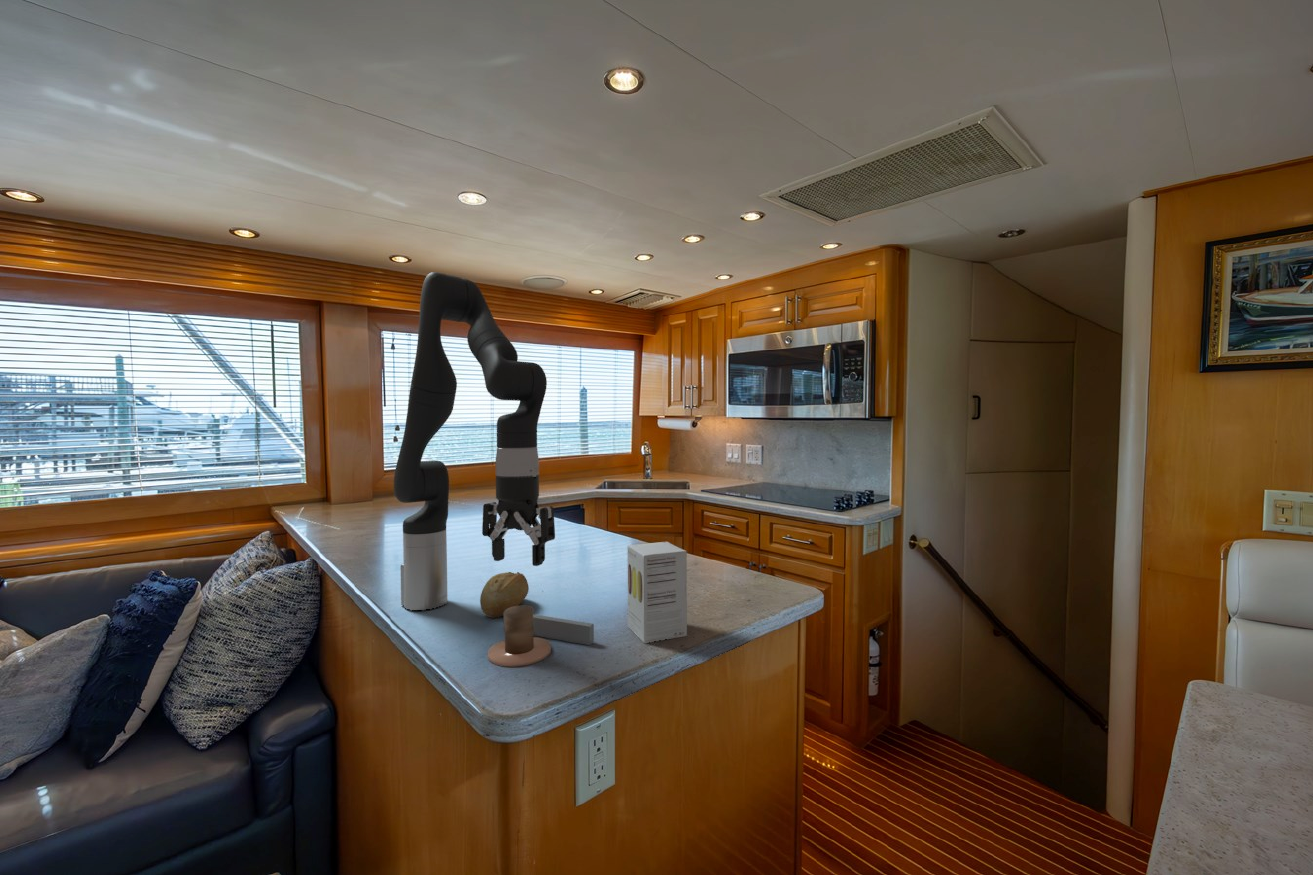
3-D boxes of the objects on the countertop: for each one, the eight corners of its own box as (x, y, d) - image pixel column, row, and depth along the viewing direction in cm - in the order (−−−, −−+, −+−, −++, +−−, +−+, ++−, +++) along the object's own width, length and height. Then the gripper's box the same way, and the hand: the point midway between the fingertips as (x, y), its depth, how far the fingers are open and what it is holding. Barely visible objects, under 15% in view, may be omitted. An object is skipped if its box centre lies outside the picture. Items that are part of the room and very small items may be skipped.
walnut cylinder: (499, 651, 95) (498, 612, 95) (516, 641, 99) (516, 603, 99) (522, 656, 93) (521, 616, 93) (539, 645, 97) (538, 607, 97)
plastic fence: (503, 629, 107) (503, 612, 107) (508, 627, 109) (508, 610, 109) (589, 645, 99) (589, 626, 99) (593, 642, 101) (593, 623, 101)
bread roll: (536, 598, 128) (535, 564, 128) (517, 620, 113) (516, 583, 113) (496, 597, 128) (496, 564, 128) (472, 620, 113) (471, 583, 113)
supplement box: (626, 627, 108) (625, 544, 108) (668, 620, 112) (667, 540, 112) (644, 644, 99) (643, 554, 99) (688, 636, 103) (687, 549, 103)
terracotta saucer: (474, 660, 93) (474, 655, 93) (514, 637, 103) (514, 633, 103) (526, 671, 89) (526, 666, 89) (562, 646, 99) (562, 641, 99)
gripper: (471, 473, 95) (472, 563, 95) (537, 476, 89) (538, 572, 90) (499, 469, 102) (500, 554, 102) (562, 472, 96) (563, 561, 96)
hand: (518, 562), depth 96 cm, fingers open, 8 cm apart
